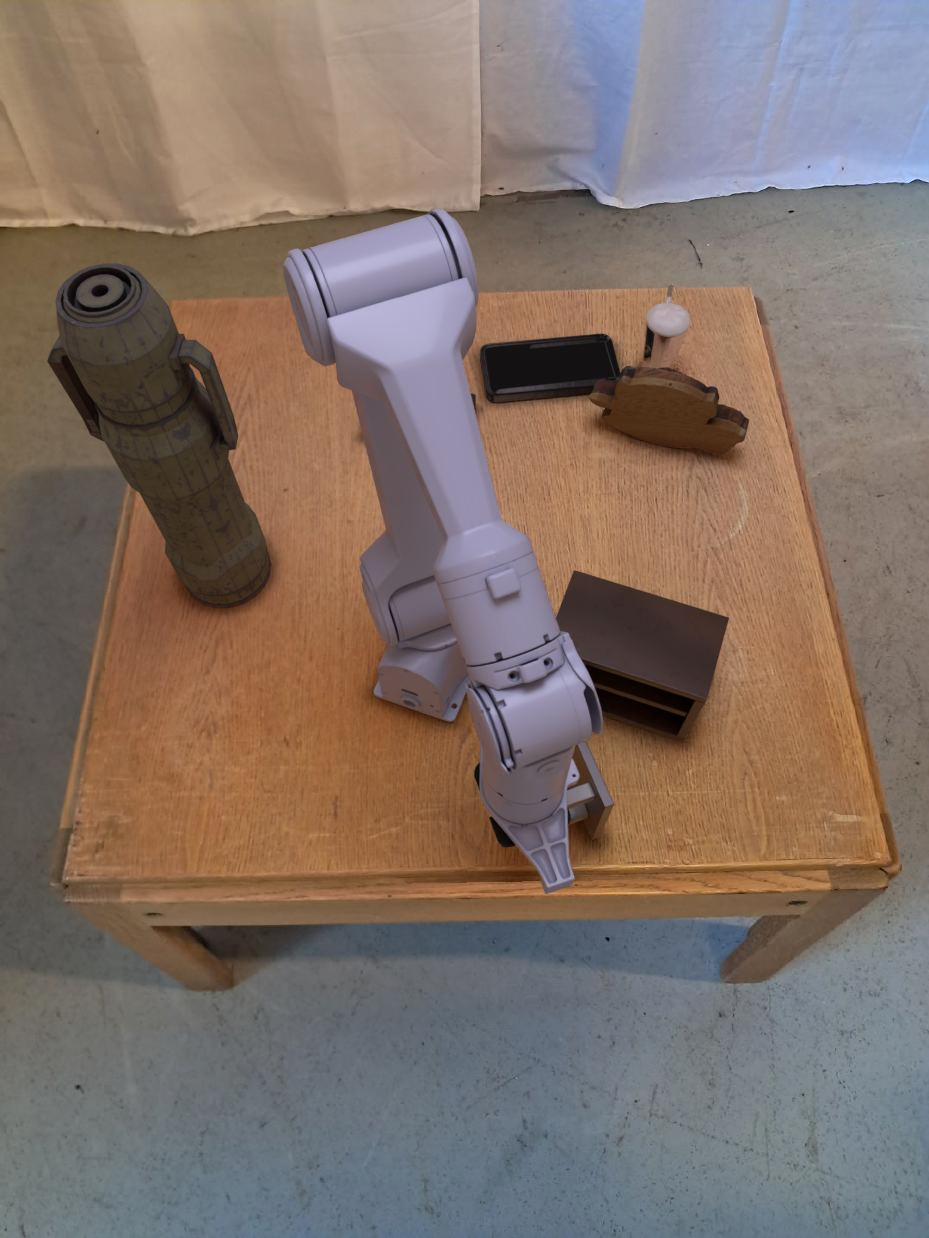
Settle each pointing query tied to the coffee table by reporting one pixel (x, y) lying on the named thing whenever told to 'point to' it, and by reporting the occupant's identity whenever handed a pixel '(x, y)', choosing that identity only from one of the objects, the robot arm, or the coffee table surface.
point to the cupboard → (643, 652)
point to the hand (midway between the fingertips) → (518, 821)
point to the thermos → (161, 426)
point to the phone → (547, 367)
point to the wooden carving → (669, 410)
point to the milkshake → (664, 333)
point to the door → (589, 793)
